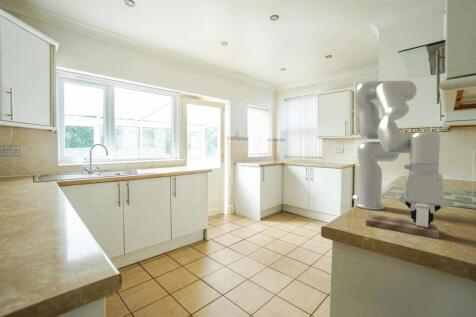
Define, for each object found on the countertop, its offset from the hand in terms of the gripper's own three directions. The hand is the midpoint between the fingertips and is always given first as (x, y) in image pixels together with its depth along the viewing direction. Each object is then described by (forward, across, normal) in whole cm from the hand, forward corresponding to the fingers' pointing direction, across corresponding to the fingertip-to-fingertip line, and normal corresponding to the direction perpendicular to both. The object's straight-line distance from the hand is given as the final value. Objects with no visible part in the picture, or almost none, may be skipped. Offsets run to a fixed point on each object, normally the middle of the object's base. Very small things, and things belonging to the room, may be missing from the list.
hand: (421, 222), depth 75 cm
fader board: (+3, -6, 0) cm, 7 cm away
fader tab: (+1, 0, 0) cm, 1 cm away
